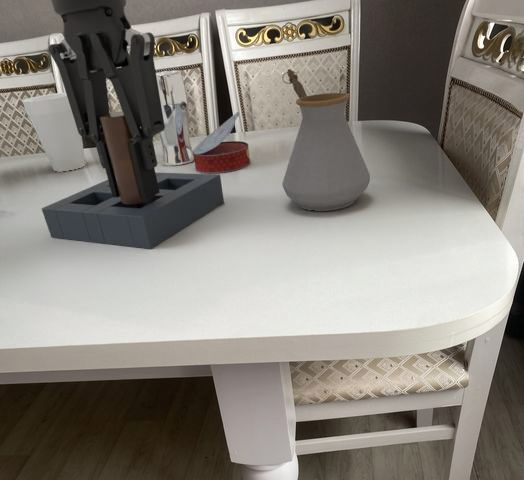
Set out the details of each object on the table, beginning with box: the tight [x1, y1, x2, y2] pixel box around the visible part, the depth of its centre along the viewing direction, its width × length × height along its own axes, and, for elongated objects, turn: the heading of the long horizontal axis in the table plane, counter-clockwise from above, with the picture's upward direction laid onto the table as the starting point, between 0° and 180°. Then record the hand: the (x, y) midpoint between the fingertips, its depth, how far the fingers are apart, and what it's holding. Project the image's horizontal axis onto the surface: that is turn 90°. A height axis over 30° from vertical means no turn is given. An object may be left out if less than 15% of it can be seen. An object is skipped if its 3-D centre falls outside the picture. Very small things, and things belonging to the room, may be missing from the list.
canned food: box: [192, 111, 251, 174], centre depth 92 cm, size 11×10×10 cm
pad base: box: [41, 171, 225, 250], centre depth 72 cm, size 17×17×4 cm
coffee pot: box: [281, 68, 371, 212], centre depth 71 cm, size 21×12×15 cm, turn 12°
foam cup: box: [22, 91, 86, 173], centre depth 102 cm, size 10×9×13 cm
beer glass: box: [156, 69, 194, 167], centre depth 96 cm, size 7×7×15 cm
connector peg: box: [100, 110, 153, 204], centre depth 64 cm, size 4×4×10 cm
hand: (136, 194), depth 66 cm, fingers closed on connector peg, 4 cm apart
